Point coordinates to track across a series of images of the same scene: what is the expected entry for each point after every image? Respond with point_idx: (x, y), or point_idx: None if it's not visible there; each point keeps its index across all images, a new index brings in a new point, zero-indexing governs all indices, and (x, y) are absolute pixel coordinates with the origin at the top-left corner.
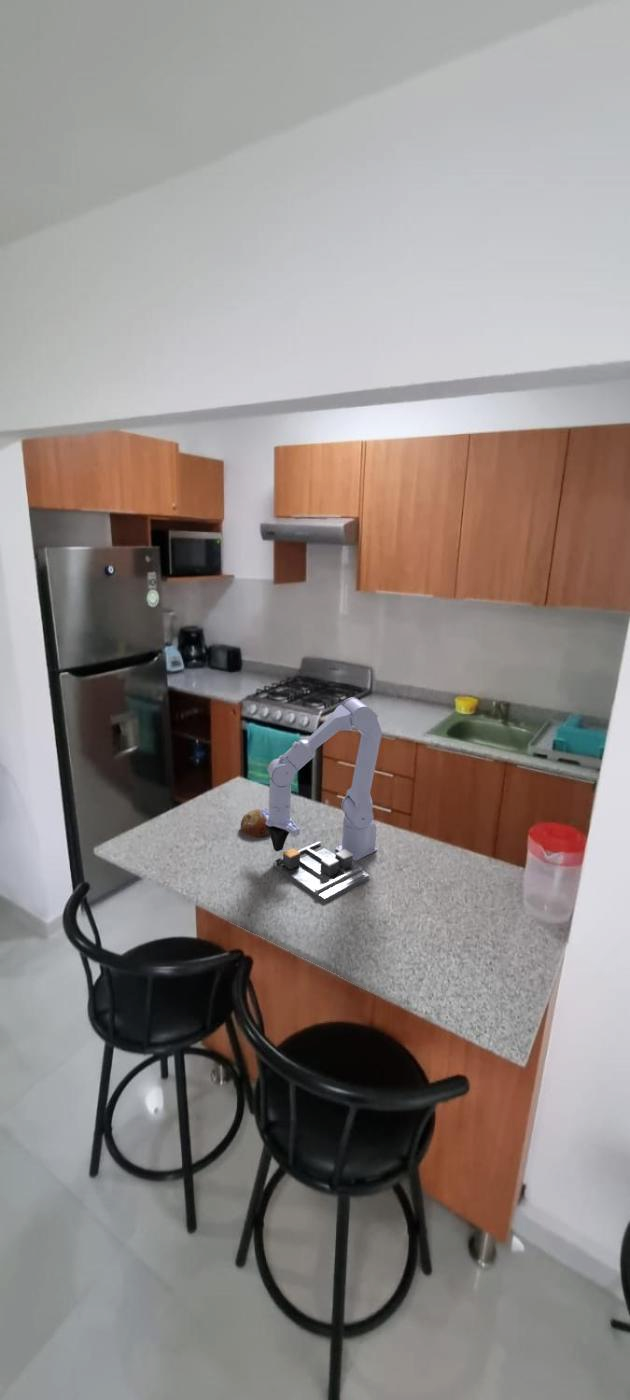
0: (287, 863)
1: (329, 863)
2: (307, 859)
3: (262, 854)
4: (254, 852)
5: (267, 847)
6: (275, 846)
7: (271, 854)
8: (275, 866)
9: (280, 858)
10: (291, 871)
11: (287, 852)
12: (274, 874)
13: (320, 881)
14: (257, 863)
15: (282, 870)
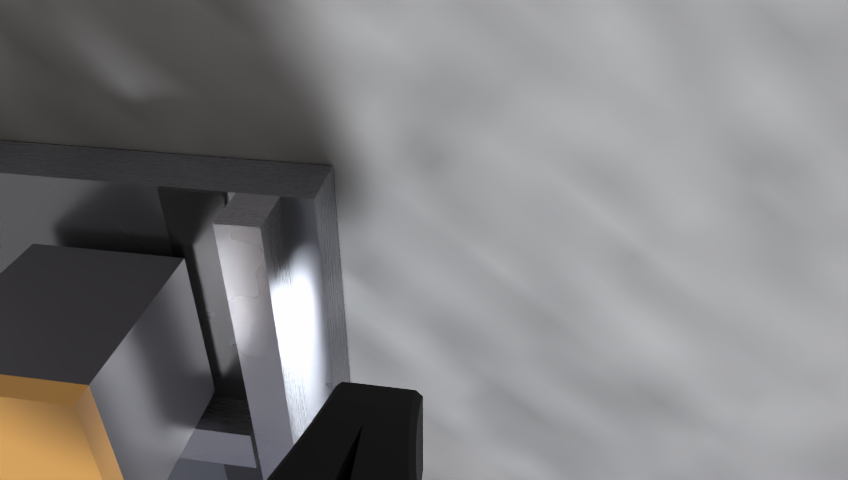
0: (48, 287)
1: None
2: (169, 478)
3: (695, 269)
4: (843, 228)
5: (765, 408)
6: (320, 447)
7: (596, 339)
8: (268, 179)
9: (266, 317)
10: (7, 228)
11: (39, 437)
12: (162, 59)
13: None
14: (565, 62)
15: (104, 173)
